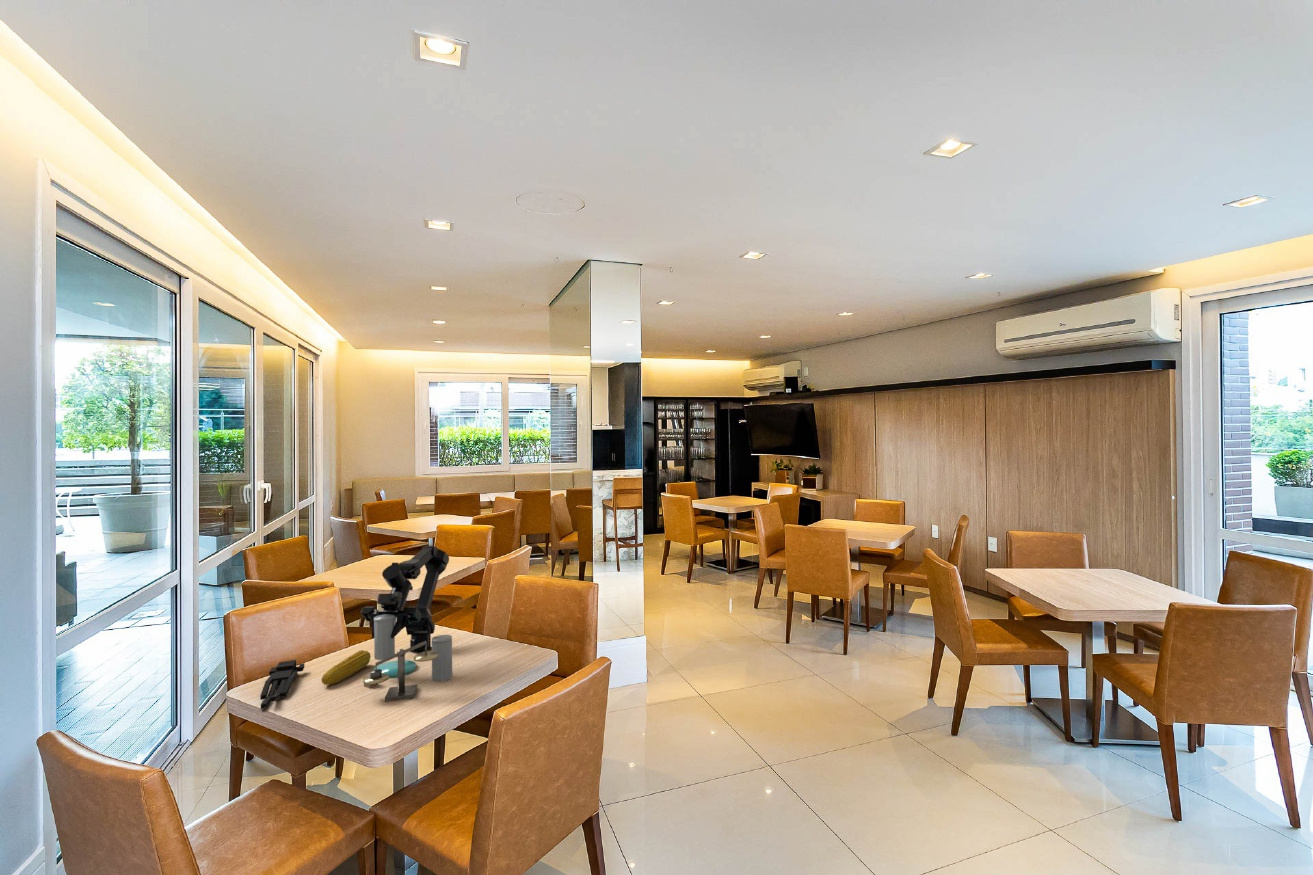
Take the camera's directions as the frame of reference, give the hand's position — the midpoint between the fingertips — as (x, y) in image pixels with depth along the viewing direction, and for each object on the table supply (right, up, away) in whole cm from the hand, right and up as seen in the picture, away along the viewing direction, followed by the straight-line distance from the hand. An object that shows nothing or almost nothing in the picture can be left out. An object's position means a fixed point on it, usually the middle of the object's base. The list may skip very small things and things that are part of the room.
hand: (382, 637), depth 193 cm
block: (-1, -13, -6) cm, 14 cm away
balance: (+12, -13, -14) cm, 22 cm away
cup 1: (0, -7, +1) cm, 7 cm away
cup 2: (+20, -13, -1) cm, 24 cm away
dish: (+1, -13, +7) cm, 15 cm away
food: (-13, -14, +3) cm, 19 cm away
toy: (-28, -14, -9) cm, 33 cm away
